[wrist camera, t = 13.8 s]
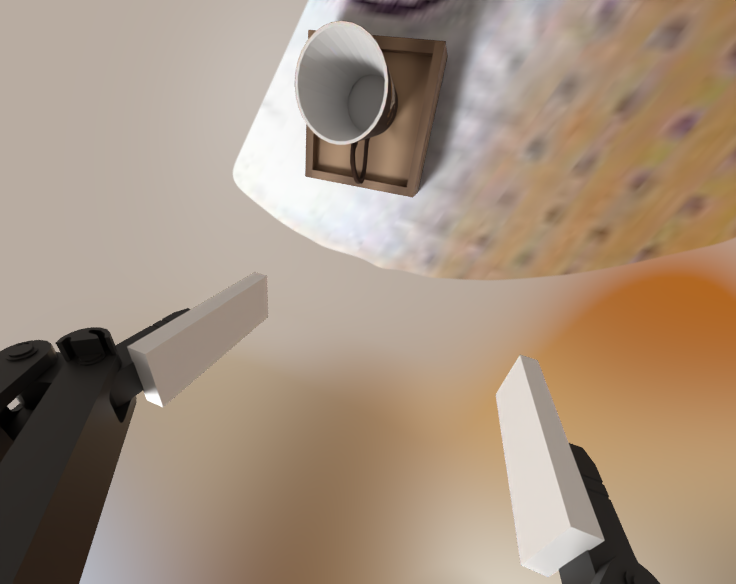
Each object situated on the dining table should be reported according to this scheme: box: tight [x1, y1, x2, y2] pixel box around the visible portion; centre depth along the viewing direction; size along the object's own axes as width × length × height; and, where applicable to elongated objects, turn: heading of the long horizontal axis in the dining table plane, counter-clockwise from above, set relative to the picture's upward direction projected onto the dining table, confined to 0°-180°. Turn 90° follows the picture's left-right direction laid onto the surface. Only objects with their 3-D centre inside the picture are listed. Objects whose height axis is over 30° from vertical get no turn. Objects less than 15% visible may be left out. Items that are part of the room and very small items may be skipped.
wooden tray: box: [305, 30, 447, 197], centre depth 34 cm, size 15×15×5 cm
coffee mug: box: [295, 21, 398, 184], centre depth 28 cm, size 12×9×10 cm
